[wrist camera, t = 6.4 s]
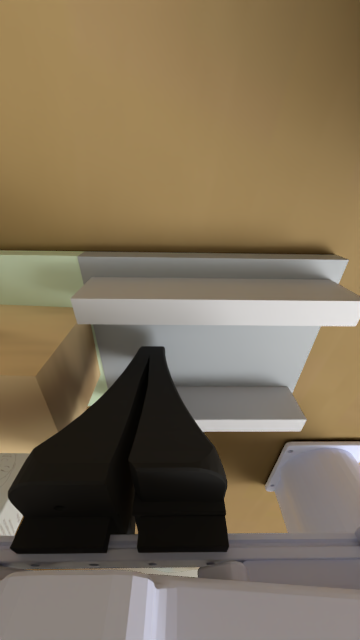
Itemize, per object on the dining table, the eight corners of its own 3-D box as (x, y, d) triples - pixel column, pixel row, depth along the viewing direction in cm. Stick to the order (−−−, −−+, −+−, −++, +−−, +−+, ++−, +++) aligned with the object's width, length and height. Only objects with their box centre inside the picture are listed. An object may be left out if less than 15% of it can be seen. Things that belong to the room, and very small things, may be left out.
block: (100, 374, 14) (67, 453, 10) (7, 371, 14) (-68, 451, 10) (87, 308, 12) (34, 376, 7) (-27, 303, 11) (-151, 370, 7)
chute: (280, 396, 17) (303, 440, 14) (37, 395, 16) (6, 441, 13) (335, 254, 11) (394, 277, 8) (-35, 249, 11) (-116, 272, 8)
